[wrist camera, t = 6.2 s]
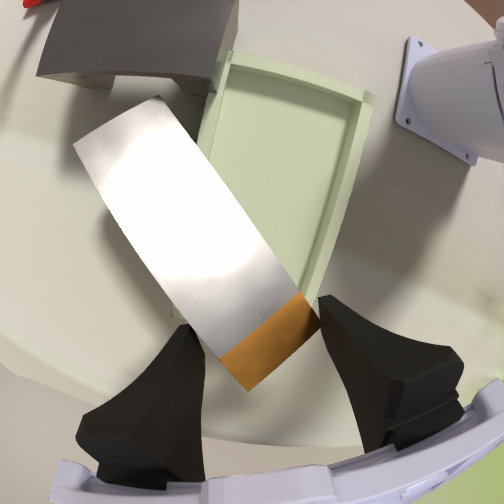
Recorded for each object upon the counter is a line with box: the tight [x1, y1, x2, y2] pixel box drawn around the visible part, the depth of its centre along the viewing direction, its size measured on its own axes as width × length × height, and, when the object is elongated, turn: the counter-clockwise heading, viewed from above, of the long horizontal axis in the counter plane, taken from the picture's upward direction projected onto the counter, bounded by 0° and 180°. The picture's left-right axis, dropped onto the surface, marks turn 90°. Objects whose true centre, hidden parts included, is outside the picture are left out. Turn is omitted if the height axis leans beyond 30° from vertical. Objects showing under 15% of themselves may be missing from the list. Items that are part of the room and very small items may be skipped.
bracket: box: [36, 0, 239, 97], centre depth 11 cm, size 9×5×6 cm, turn 77°
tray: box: [171, 51, 376, 320], centre depth 17 cm, size 10×18×2 cm, turn 167°
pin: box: [73, 95, 323, 392], centre depth 13 cm, size 4×13×4 cm
